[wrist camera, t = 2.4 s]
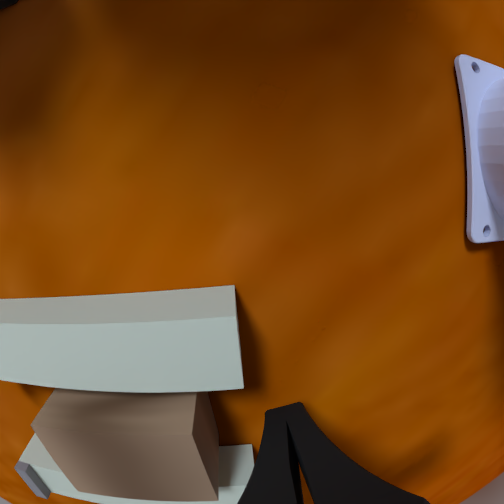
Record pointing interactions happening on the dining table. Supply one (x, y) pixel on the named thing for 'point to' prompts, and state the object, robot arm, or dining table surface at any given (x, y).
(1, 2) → the battery
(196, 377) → the rails
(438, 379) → the dining table surface
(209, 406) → the block
